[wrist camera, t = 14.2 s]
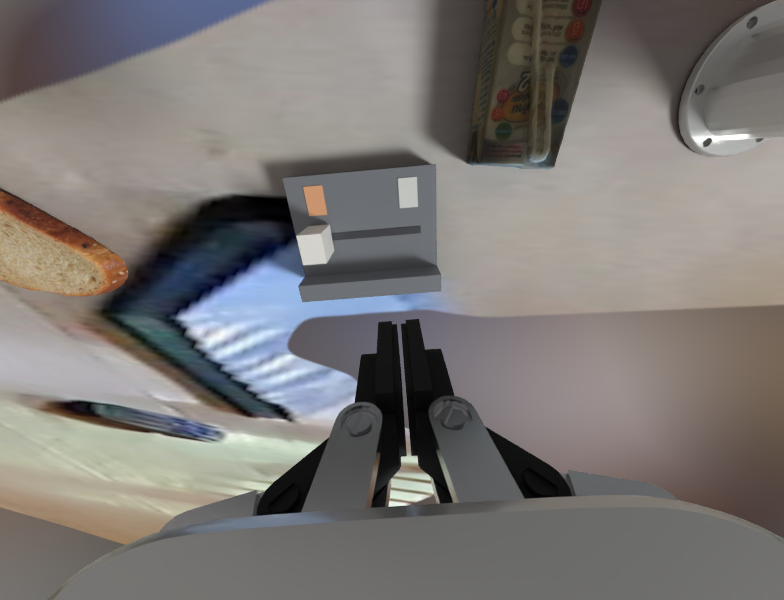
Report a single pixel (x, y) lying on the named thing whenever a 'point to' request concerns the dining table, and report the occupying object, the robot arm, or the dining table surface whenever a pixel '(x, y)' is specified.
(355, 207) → the grey slide switch panel
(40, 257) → the bread slice
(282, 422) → the dining table surface
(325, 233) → the knob
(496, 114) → the beverage carton
